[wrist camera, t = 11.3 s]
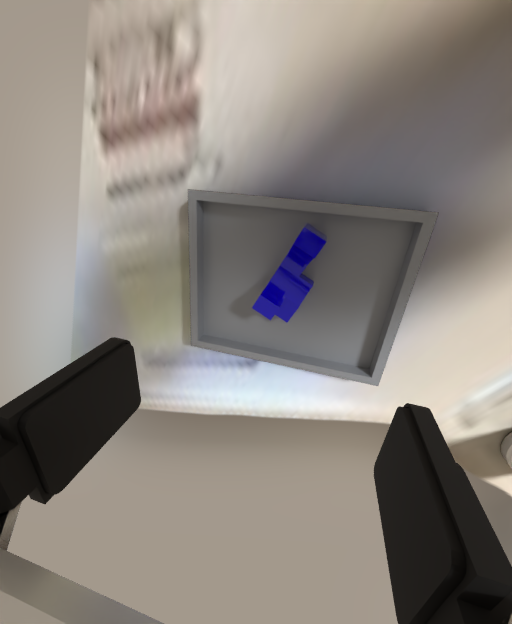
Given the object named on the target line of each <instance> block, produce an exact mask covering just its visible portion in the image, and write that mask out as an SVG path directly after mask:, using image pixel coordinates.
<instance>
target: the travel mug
mask: <svg viewBox="0 0 512 624" xmlns="http://www.w3.org/2000/svg"><path fill="white" fill-rule="evenodd" d="M501 453H502V456H503V457H504V459H505V460H506V461H507V463H508V464H509V466H510V467H511V469H512V432H511V433H510V434H508V435H507V436H506V437H505V438H504V440H503V441H502V444H501Z"/></svg>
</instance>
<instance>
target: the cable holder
mask: <svg viewBox="0 0 512 624" xmlns="http://www.w3.org/2000/svg"><path fill="white" fill-rule="evenodd" d="M326 242H327V236H326V235H325V234H323V233H322V232H320V231H319V230H317V229H316V228H314V227H313V226H311V225H310V224H308V223H307V224H306V226H305V227H304V228H303V229H302V231H301V233H300V234H299V236H298V237H297V239H296V240H295V242H294V243H293V246H292V247H291V249H290V250H289V252H288V254H287V255H286V257H285V258H284V260H283V261H282V263H281V265H280V266H279V268H278V269H277V271H276V272H275V274H274V275H273V277H272V278H271V280H270V281H269V283H268V284H267V286H266V287H265V289H264V290H263V292H262V293H261V294H260V296H259V297H258V299H257V301H256V302H255V304H254V305H253V307H252V309H254V310H256V311H257V312H259V313H260V314H262V315H263V316H265V317H266V318H268V319H269V320H271V319H272V318H273V316H274V315H276V316H278V317H279V318H281V319H282V320H284V321H285V322H288V321H289V320H290V318H291V317H292V316H293V314H294V313H295V312H296V311H297V309H298V308H299V306H300V305H301V303H302V301H303V300H304V298H305V297H306V295H307V294H308V292H309V291H310V289H311V288H312V287H313V284H314V281H313V280H311V279H310V278H308V277H307V276H305V275H304V274H302V272H303V271H304V269H305V268H306V267H307V265H308V264H309V263H310V262H311V261H312V260H313V259H315V257H316V256H317V255H318V253H319V252H320V250H321V249H322V248H323V246H324V245H325V243H326Z"/></svg>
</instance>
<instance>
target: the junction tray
mask: <svg viewBox="0 0 512 624" xmlns="http://www.w3.org/2000/svg"><path fill="white" fill-rule="evenodd" d="M438 214H439V212H428V211H417V210H407V209H396V208H385V207H374V206H363V205H353V204H342V203H331V202H320V201H309V200H298V199H288V198H277V197H266V196H255V195H244V194H234V193H223V192H212V191H201V190H190V189H188V220H189V267H190V314H191V346H196V347H201V348H205V349H210V350H214V351H219V352H224V353H228V354H233V355H237V356H242V357H246V358H251V359H256V360H260V361H265V362H269V363H274V364H279V365H283V366H288V367H292V368H297V369H302V370H306V371H311V372H315V373H320V374H325V375H329V376H334V377H338V378H343V379H347V380H352V381H357V382H361V383H366V384H370V385H375V386H378V385H379V382H380V379H381V376H382V374H383V371H384V368H385V365H386V362H387V359H388V356H389V354H390V351H391V348H392V345H393V342H394V339H395V336H396V334H397V331H398V328H399V325H400V322H401V319H402V316H403V314H404V311H405V308H406V305H407V302H408V299H409V297H410V294H411V291H412V288H413V285H414V282H415V279H416V277H417V274H418V271H419V268H420V265H421V262H422V259H423V257H424V254H425V251H426V248H427V245H428V242H429V239H430V237H431V234H432V231H433V228H434V225H435V222H436V219H437V217H438ZM307 223H308V224H310V225H311V226H313V227H314V228H316V229H317V230H319V231H320V232H322V233H323V234H325V235H326V236H327V242H326V243H325V245H324V246H323V248H322V249H321V250H320V252H319V253H318V255H317V256H316V257H315V259H313V260H312V261H311V262H310V263H309V264H308V265H307V267H306V268H305V269H304V271H303V272H302V274H304V275H305V276H307V277H308V278H310V279H311V280H313V281H314V284H313V287H312V288H311V289H310V291H309V292H308V294H307V295H306V297H305V298H304V300H303V301H302V303H301V305H300V306H299V308H298V309H297V311H296V312H295V313H294V314H293V316H292V317H291V318H290V320H289V321H288V322H285V321H284V320H282V319H281V318H279V317H278V316H276V315H274V316H273V318H272V319H271V320H269V319H268V318H266V317H265V316H263V315H262V314H260V313H259V312H257V311H256V310H254V309H252V307H253V305H254V304H255V302H256V301H257V299H258V297H259V296H260V294H261V293H262V292H263V290H264V289H265V287H266V286H267V284H268V283H269V281H270V280H271V278H272V277H273V275H274V274H275V272H276V271H277V269H278V268H279V266H280V265H281V263H282V261H283V260H284V258H285V257H286V255H287V254H288V252H289V250H290V249H291V247H292V246H293V243H294V242H295V240H296V239H297V237H298V236H299V234H300V233H301V231H302V229H303V228H304V227H305V226H306V224H307Z"/></svg>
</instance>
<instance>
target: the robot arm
mask: <svg viewBox="0 0 512 624" xmlns="http://www.w3.org/2000/svg"><path fill="white" fill-rule="evenodd" d="M140 402H141V397H140V389H139V382H138V375H137V368H136V361H135V354H134V348H133V346H132V345H131V343H130V342H129V341H128V340H124V339H120V338H110V339H109V340H107V341H105V342H104V343H102V344H101V345H99V346H98V347H96V348H94V349H93V350H91V351H90V352H88V353H86V354H85V355H83V356H82V357H80V358H78V359H77V360H75V361H74V362H72V363H71V364H69V365H67V366H66V367H64V368H63V369H61V370H59V371H58V372H56V373H55V374H53V375H52V376H50V377H48V378H47V379H45V380H44V381H42V382H40V383H39V384H37V385H36V386H34V387H33V388H31V389H29V390H28V391H26V392H24V393H23V394H21V395H20V396H18V397H17V398H15V399H13V400H12V401H10V402H9V403H7V404H5V405H4V406H2V407H1V408H0V624H164V623H162V622H159V621H157V620H155V619H153V618H151V617H148V616H147V615H144V614H142V613H140V612H138V611H136V610H134V609H131V608H129V607H127V606H125V605H123V604H121V603H119V602H116V601H114V600H112V599H110V598H108V597H106V596H103V595H101V594H99V593H97V592H95V591H93V590H90V589H88V588H86V587H84V586H82V585H80V584H78V583H75V582H73V581H71V580H69V579H67V578H65V577H62V576H60V575H58V574H56V573H54V572H51V571H49V570H47V569H45V568H43V567H41V566H38V565H36V564H34V563H32V562H30V561H28V560H25V559H23V558H21V557H19V556H17V555H14V554H12V553H10V552H8V551H7V548H8V545H9V541H10V538H11V535H12V532H13V528H14V525H15V522H16V519H17V515H18V512H19V509H20V505H21V502H22V500H23V499H25V498H26V497H27V495H29V496H30V498H31V499H33V500H35V501H38V502H40V503H43V504H46V503H47V502H48V501H49V500H50V499H51V497H52V496H53V495H54V494H57V493H59V492H61V491H62V490H63V489H64V488H65V487H66V486H67V485H68V484H69V483H70V481H71V480H72V479H73V478H74V477H75V476H76V475H77V474H78V473H79V471H80V470H82V468H83V467H84V466H85V465H86V464H87V463H88V462H89V461H90V460H91V459H92V458H93V457H94V455H95V454H96V453H97V452H98V451H99V450H100V449H101V448H102V447H103V446H104V444H106V442H107V441H108V440H109V439H110V438H111V437H112V436H113V435H114V434H115V433H116V432H117V430H118V429H119V428H120V427H121V426H122V425H123V424H124V423H125V422H126V421H127V420H128V419H129V417H130V416H131V415H132V414H133V413H134V412H135V411H136V410H137V409H138V407H139V405H140ZM374 479H375V485H376V492H377V498H378V504H379V510H380V516H381V522H382V529H383V535H384V542H385V548H386V553H387V560H388V567H389V573H390V579H391V585H392V592H393V598H394V604H395V610H396V616H397V621H398V624H512V567H511V564H510V562H509V560H508V558H507V556H506V554H505V552H504V550H503V548H502V546H501V544H500V542H499V540H498V538H497V536H496V534H495V532H494V530H493V528H492V526H491V524H490V522H489V520H488V518H487V516H486V514H485V512H484V510H483V508H482V506H481V504H480V502H479V500H478V498H477V496H476V494H475V492H474V490H473V488H472V486H471V484H470V482H469V480H468V478H467V476H466V474H465V472H464V470H463V469H462V467H461V466H460V465H459V464H458V463H455V460H454V458H453V456H452V454H451V452H450V450H449V448H448V446H447V444H446V442H445V440H444V437H443V435H442V433H441V431H440V429H439V427H438V425H437V423H436V421H435V419H434V417H433V414H432V412H431V411H430V409H429V408H426V407H422V406H417V405H413V404H408V403H407V404H405V405H404V407H398V408H397V410H396V413H395V415H394V418H393V420H392V423H391V425H390V427H389V430H388V433H387V435H386V438H385V440H384V443H383V445H382V447H381V450H380V453H379V455H378V457H377V460H376V462H375V466H374Z"/></svg>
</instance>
